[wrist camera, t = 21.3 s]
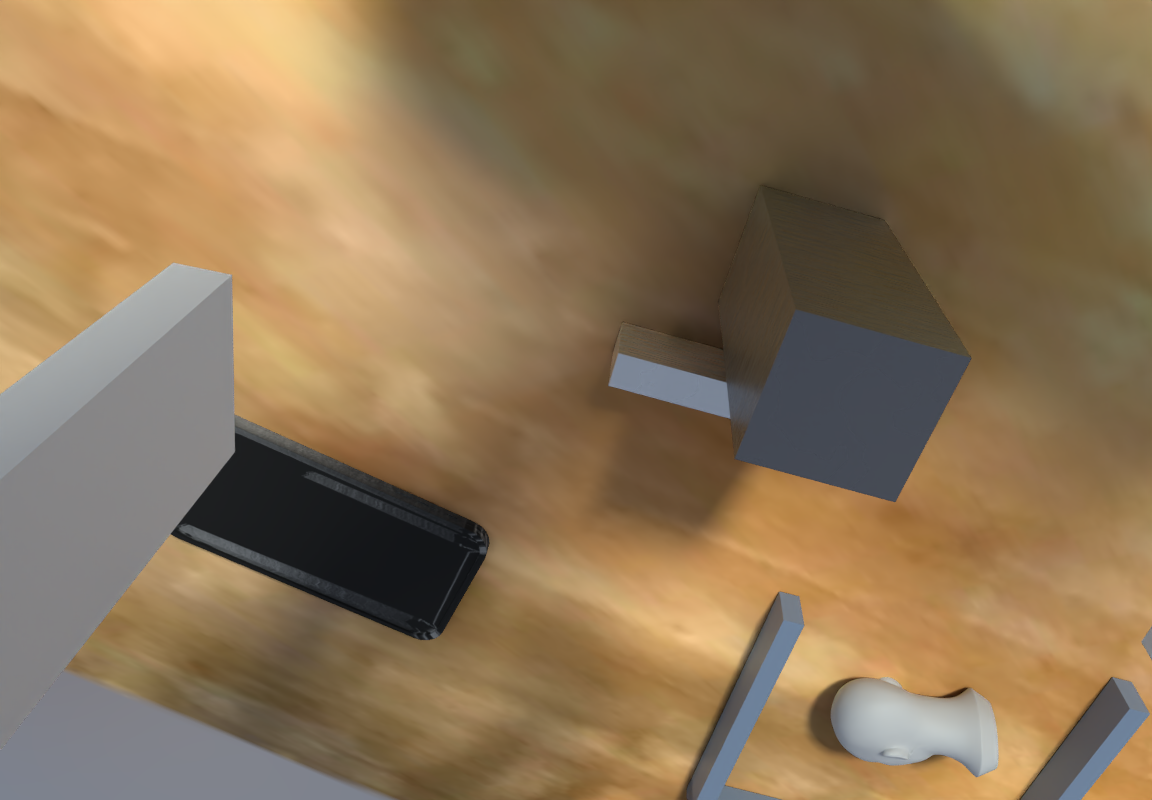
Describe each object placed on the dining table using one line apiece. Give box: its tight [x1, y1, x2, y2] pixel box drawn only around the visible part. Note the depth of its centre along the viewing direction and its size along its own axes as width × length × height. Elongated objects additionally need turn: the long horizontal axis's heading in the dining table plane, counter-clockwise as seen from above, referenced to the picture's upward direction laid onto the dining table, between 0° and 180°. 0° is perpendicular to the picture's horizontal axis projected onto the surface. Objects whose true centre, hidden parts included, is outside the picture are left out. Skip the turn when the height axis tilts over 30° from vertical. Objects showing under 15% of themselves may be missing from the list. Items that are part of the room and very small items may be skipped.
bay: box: [687, 592, 1150, 800], centre depth 48 cm, size 15×18×2 cm
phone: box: [171, 415, 489, 640], centre depth 45 cm, size 8×1×15 cm
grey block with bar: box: [608, 185, 971, 502], centre depth 32 cm, size 8×12×12 cm
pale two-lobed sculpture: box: [831, 677, 998, 777], centre depth 46 cm, size 4×8×5 cm
